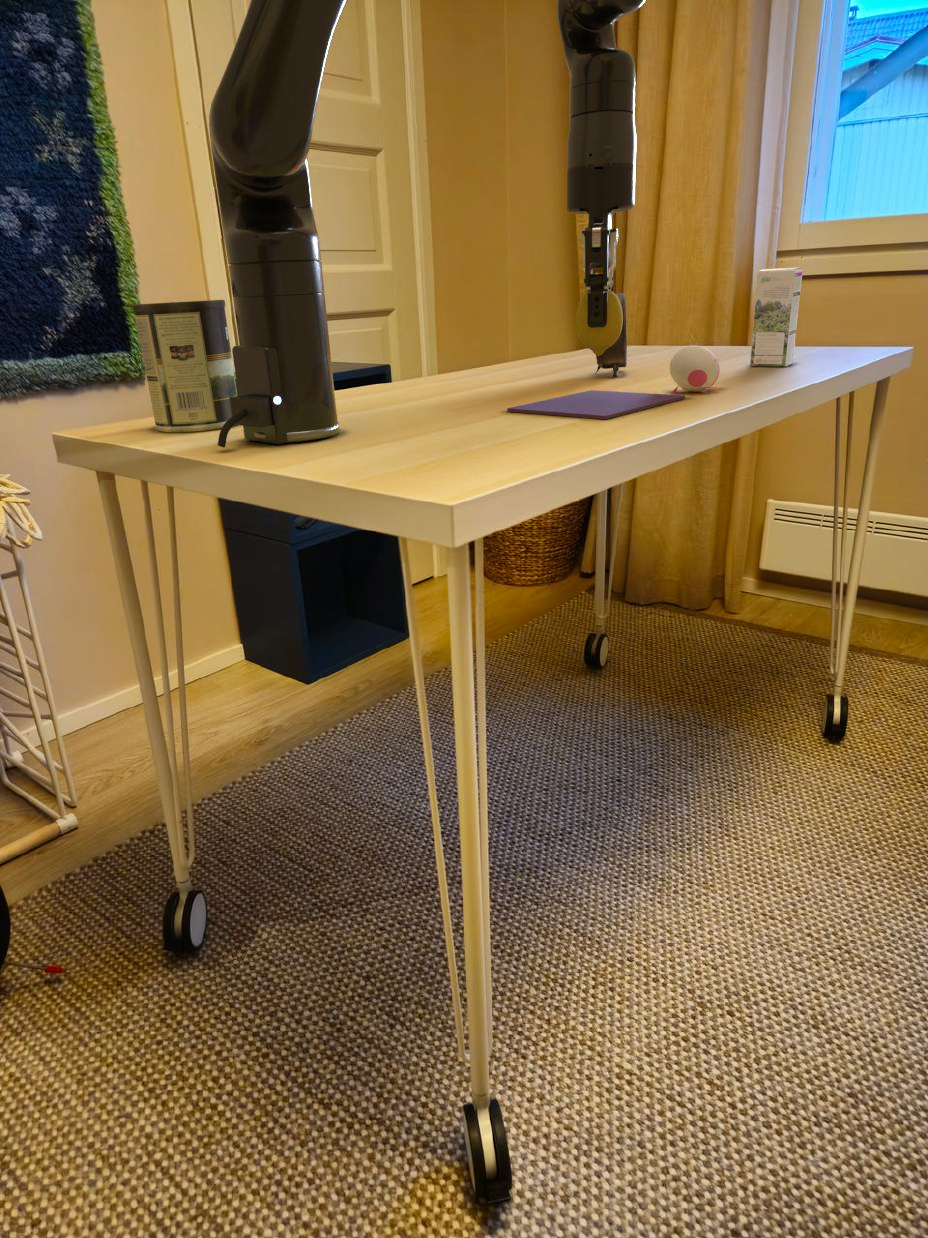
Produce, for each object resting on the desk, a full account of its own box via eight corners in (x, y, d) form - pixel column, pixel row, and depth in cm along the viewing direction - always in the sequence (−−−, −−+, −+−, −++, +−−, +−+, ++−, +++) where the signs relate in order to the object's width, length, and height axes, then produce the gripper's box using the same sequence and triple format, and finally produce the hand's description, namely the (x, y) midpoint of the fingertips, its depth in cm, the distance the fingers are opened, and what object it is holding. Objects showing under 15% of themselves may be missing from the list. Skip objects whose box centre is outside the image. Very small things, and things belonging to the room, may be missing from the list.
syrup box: (794, 363, 135) (804, 266, 129) (785, 367, 130) (795, 267, 125) (758, 363, 138) (766, 268, 132) (748, 366, 133) (756, 269, 128)
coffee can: (222, 416, 107) (205, 299, 102) (256, 424, 99) (238, 298, 94) (142, 426, 101) (119, 304, 96) (171, 435, 94) (148, 303, 88)
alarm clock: (625, 378, 126) (628, 262, 120) (589, 379, 127) (591, 264, 121) (627, 370, 136) (630, 263, 130) (594, 371, 137) (595, 265, 131)
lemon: (588, 353, 103) (589, 284, 100) (629, 353, 100) (631, 282, 97) (566, 357, 99) (566, 285, 96) (608, 358, 96) (610, 283, 92)
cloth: (605, 419, 91) (605, 415, 91) (507, 411, 100) (507, 408, 99) (685, 398, 103) (685, 395, 103) (591, 393, 112) (591, 390, 112)
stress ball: (717, 419, 107) (748, 373, 106) (672, 386, 104) (703, 339, 103) (691, 409, 114) (720, 366, 112) (648, 378, 111) (677, 333, 109)
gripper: (572, 173, 99) (572, 323, 105) (560, 158, 86) (560, 330, 92) (636, 168, 97) (632, 321, 103) (634, 152, 84) (629, 327, 91)
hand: (598, 324), depth 98 cm, fingers closed on lemon, 5 cm apart
